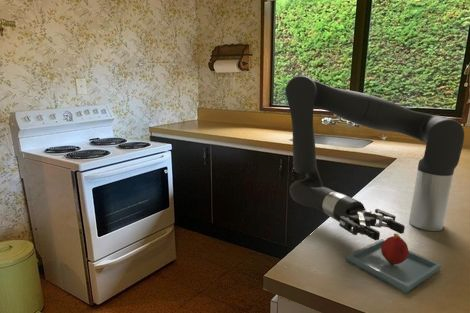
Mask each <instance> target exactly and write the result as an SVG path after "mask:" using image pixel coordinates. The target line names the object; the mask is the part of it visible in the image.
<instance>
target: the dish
mask: <svg viewBox="0 0 470 313" xmlns="http://www.w3.org/2000/svg"><path fill="white" fill-rule="evenodd" d="M385 240H386V239H379V240H376V241H375V242H373V243H371V244H369V245H367V246H365V247H362V248H360V249H358V250H356V251H354V252H351V253H349V254H347V257H346V258H347V259H346V262H347V263H349V264H350V265H352V266H354V267H356V268H358V269H359V270H361V271H363V272H364V273H366V274H368V275H369V276H373V277H374V278H376V279H377V280H380V281H381V282H384V283H385V284H387V285H389V286H391V287H393V288H395V289H396V290H398V291H400V292H402V293H404V294H406V295H408V294H409V293H411V292H412V291H414V290H416V288H418V287H420V286H421V285H423V284H424V283H425V282H427V281H428V280H430V279H431V278H433V277H434V276H436V275H437V274H439V273H440V272H441V267H442V264H440V263H438V262H436V261H433V260H431V259H429V258H426V257H424V256H422V255H419V254H417V253H415V252H412V251H410V250H408V257H407V259H406V260H405V261H403V262H402V263H400V264H395V265H392V264H390V263H389V262H388V261H387V260H386V259H385V257H384V256H383V255H382V252H381V246H382V244H383V242H384V241H385ZM432 276H433V277H432ZM429 278H430V279H429ZM426 280H427V281H426Z"/></svg>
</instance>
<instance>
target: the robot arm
mask: <svg viewBox="0 0 470 313" xmlns="http://www.w3.org/2000/svg"><path fill="white" fill-rule="evenodd" d="M284 94H285V97H286V100H287V102H288V108H289V112H290V118H291V124H292V159H293V169H294V171H295V172H296V173H298V174H302V175H303V174H304V175H305V176H306V177H305V178H303V179H299V180H296V181H294V182H292V183H291V185H290V186H289V194H290V197H291V199H292V200H293V201H295V202H296V203H297V204H299V205H302V206H305V207H310V208H313V209H317V210H319V211H321V212H322V213H323V214H326V215H327V216H329V217H330V218H331V219H333V220H335V221H336V222H339V224H338V225H339V227H340V228H342V229H344V230H345V231H347V232H349V233H350V234H352V235H353V236H357V235H358V234H359V235H362V236H364V235H365V236H366V237H368V238H370V239H372V240H374V241H379V240H380V235H381V234H380V231H379V230H376V229H375V228H380V229H381V228H382V227H384V228H388V229H390V230H391V231H394V232H396V233H397V234H400V235H402V234H405V229H406V226H405V225H404V224H402V223H400V222H398V221H396V218H397V217H396V215H394V214H391V213H389V212H386V211H384V210H381V209H379V208H375V209H374V211H371V210H368V209H366V208H365V205H364V203H363V202H361V201H359V200H357V199H355V198H353V197H351V196H348V195H346V194H345V193H342V192H341V193H340V192H337V191H335V190H333V189H331V188H328V187H326V186H323V182H322V179H321V176H320V174H319V170H318V166H317V152H316V140H315V139H316V138H315V133H314V130H315V129H314V110H315V109H319V110H324V111H326V112H329V113H331V114H333V115H335V116H338V117H339V118H341V119H344V120H345V121H347V122H351V123H353V124H356V125H360V126H362V127H365V128H368V129H373V130H377V131H384V132H392V133H399V134H402V135H404V136H405V135H406V136H408V137H411V138H413V139H415V140H419V141H421V142H423V143H425V150H424V153H423V157H422V158H421V159H420V160H419V161H418V164H417V165H418V166H417V170H416V171H417V172H416V175H415V176H416V177H415V183H414V188H413V193H412V194H413V195H412V200H411V206H410V213H409V218H408V222H409V224H411V225H412V226H414V227H415V228H418V229H420V230H423V231H430V232H439V231H443V229H444V228H443V227H444V224H445V219H446V213H447V208H448V202H449V198H450V193H451V192H450V191H451V188H452V183H453V177H454V172H455V169H456V168H457V166H458V164H459V161H460V159H461V154H462V151H463V146H464V140H465V130H464V127H463V125H462V124H461V123H460V122H459V121H457V120H455V119H453V118H449V117H446V116H441V115H435V114H429V113H424V112H420V111H414V110H411V109H408V108H406V107H404V106H402V105H400V104H398V103H395V102H393V101H390V100H388V99H384V98H381V97H379V96H375V95H371V94H368V93H363V92H360V91H354V90H348V89H342V88H337V87H333V86H330V85H328V84H325V83H322V82H320V81H317V80H315V79H313V78H311V77H310V76H307V75H296V76H293V77H292V78H291V79H290V80H288V82H287V83H286V85H285V92H284ZM314 108H315V109H314ZM377 221H378V222H377ZM373 227H375V228H373Z"/></svg>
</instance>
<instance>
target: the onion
mask: <svg viewBox="0 0 470 313" xmlns="http://www.w3.org/2000/svg"><path fill="white" fill-rule="evenodd" d="M384 240H385V241H384V242H383V244H382V246H381V252H382V255H383V256H384V257H385V259H386V260H387V261H388V262H389V263H390V264H392V265H395V264H400V263H402V262H403V261H405V260H406V259H407V257H408V251H409V248H408V247H409V246H408V244H407V243H406V241H405V240H404V239H403V238H402V237H401V236H400V235H399V233H393V236H389V237H387V238H385V239H384Z"/></svg>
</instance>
